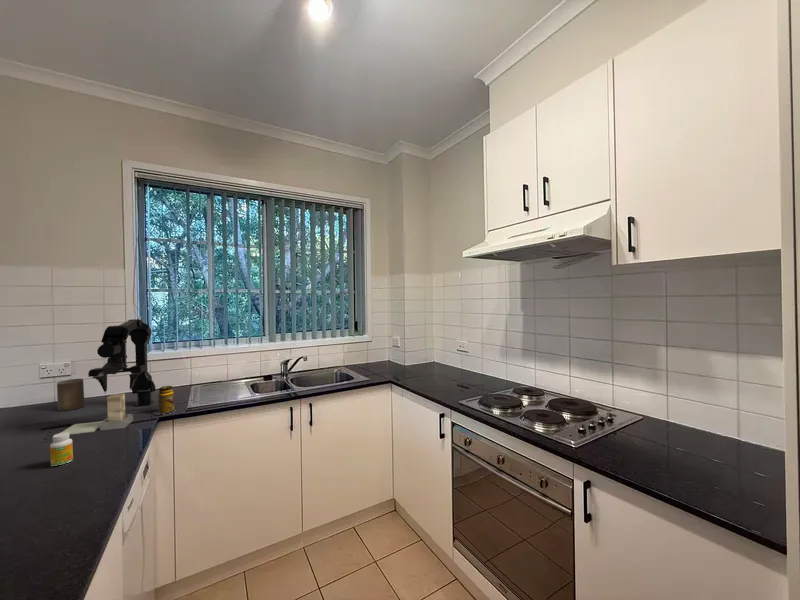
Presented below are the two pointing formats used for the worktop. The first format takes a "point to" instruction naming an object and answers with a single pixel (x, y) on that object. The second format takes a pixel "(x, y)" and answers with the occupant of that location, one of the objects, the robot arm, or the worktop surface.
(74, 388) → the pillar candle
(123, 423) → the collar
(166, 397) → the condiment
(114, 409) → the block
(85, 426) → the mat
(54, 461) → the supplement bottle
